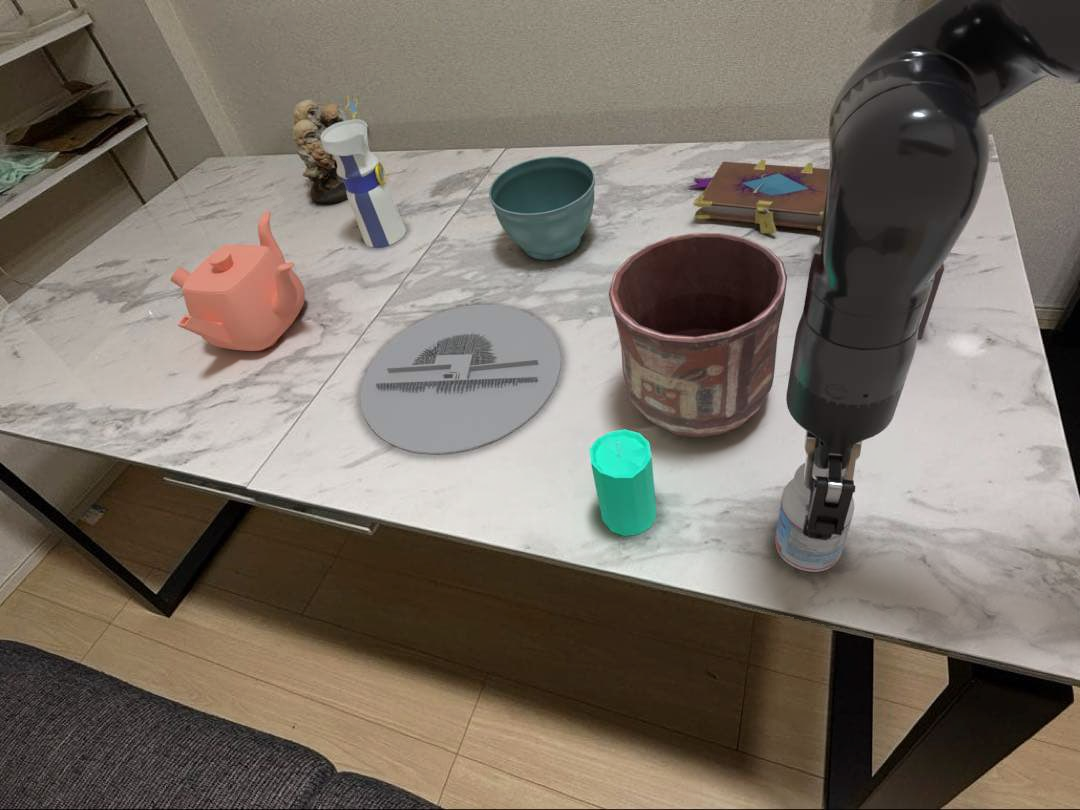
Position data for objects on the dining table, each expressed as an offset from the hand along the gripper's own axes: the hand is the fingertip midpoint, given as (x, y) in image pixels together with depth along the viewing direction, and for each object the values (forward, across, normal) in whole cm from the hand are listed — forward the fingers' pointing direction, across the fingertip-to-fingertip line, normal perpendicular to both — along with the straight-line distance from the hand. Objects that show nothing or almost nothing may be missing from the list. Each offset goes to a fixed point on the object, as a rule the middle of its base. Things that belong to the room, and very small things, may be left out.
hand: (817, 492), depth 59 cm
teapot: (+10, +26, +82) cm, 86 cm away
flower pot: (+10, +49, +40) cm, 64 cm away
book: (+10, +60, +9) cm, 61 cm away
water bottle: (+10, +51, +72) cm, 89 cm away
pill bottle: (+10, 0, 0) cm, 10 cm away
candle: (+10, +1, +18) cm, 20 cm away
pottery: (+10, +18, +13) cm, 24 cm away
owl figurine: (+10, +68, +90) cm, 113 cm away
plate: (+10, +19, +45) cm, 50 cm away
